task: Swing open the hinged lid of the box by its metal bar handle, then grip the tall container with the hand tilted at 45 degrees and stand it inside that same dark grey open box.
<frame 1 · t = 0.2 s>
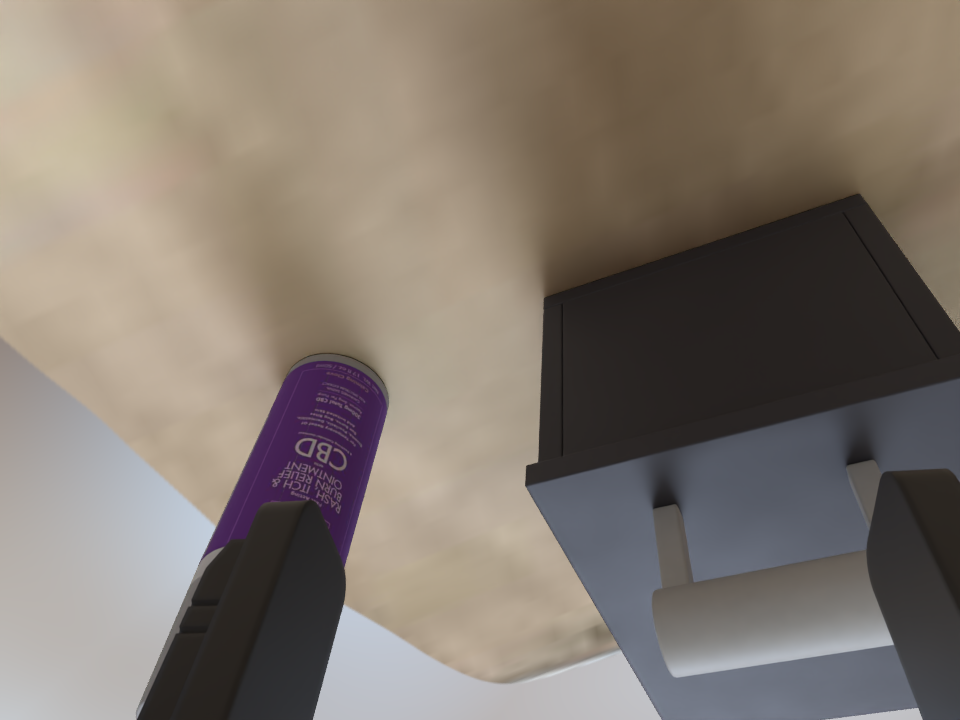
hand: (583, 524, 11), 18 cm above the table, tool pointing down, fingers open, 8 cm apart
container: (337, 392, 34), on the table
dark grey open box: (735, 383, 31), on the table
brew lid: (813, 657, 21), point 13 cm above the table, hinge at 0.0°
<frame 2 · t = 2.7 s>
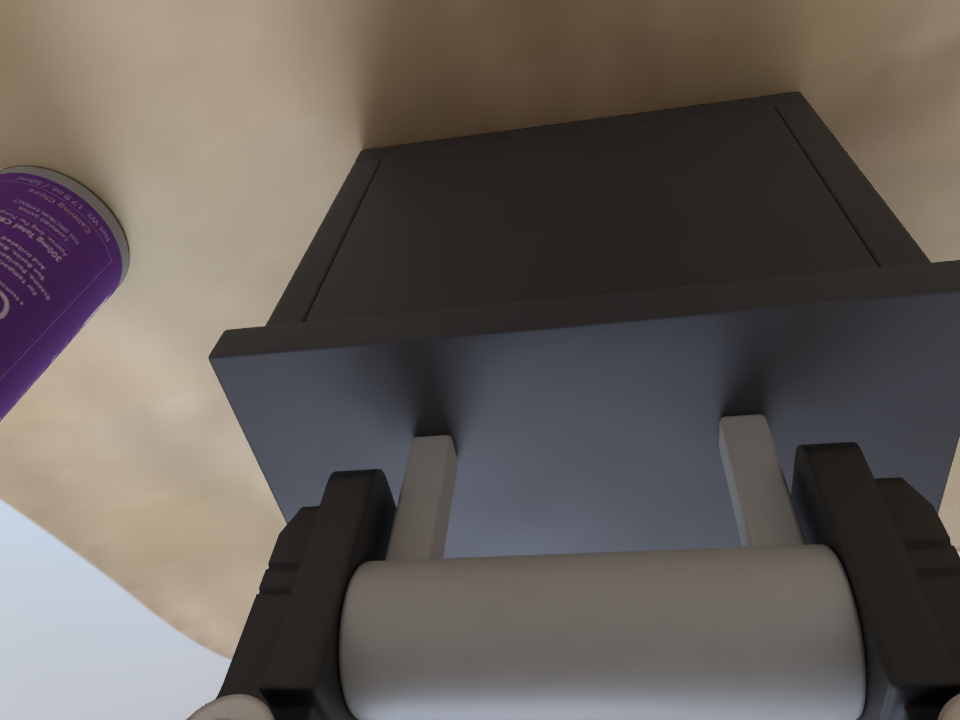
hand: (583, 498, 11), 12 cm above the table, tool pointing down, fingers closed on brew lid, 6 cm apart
container: (58, 233, 24), on the table
dark grey open box: (590, 330, 24), on the table
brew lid: (608, 706, 14), point 13 cm above the table, hinge at 0.0°, touching gripper
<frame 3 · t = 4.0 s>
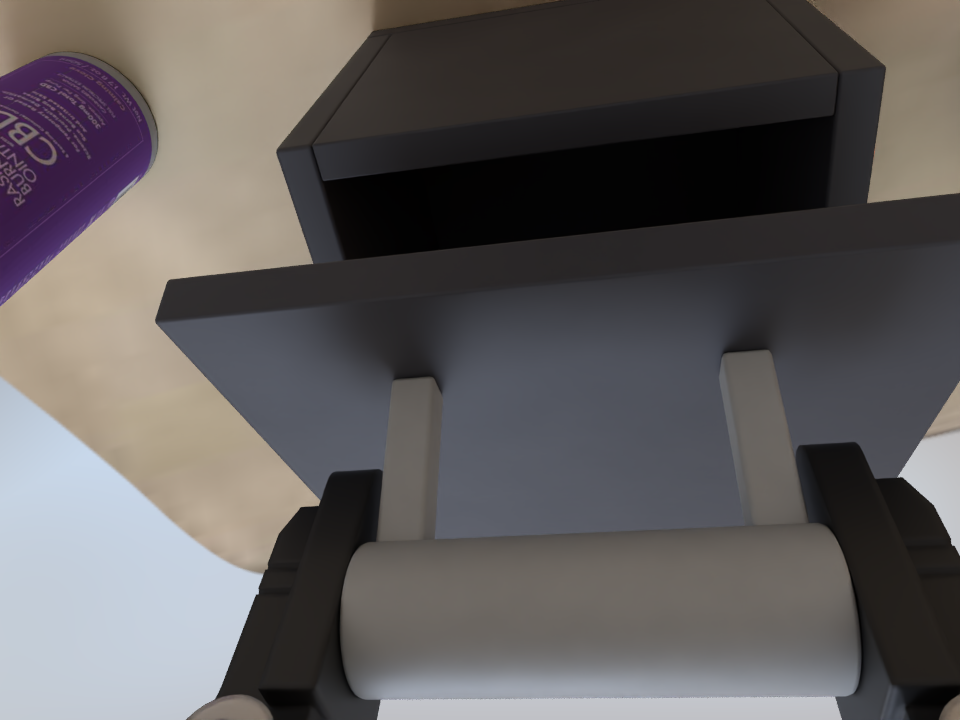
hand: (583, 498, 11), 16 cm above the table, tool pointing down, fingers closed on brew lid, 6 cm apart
container: (93, 120, 26), on the table
dark grey open box: (581, 212, 26), on the table
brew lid: (600, 590, 15), point 15 cm above the table, hinge at 20.7°, touching gripper
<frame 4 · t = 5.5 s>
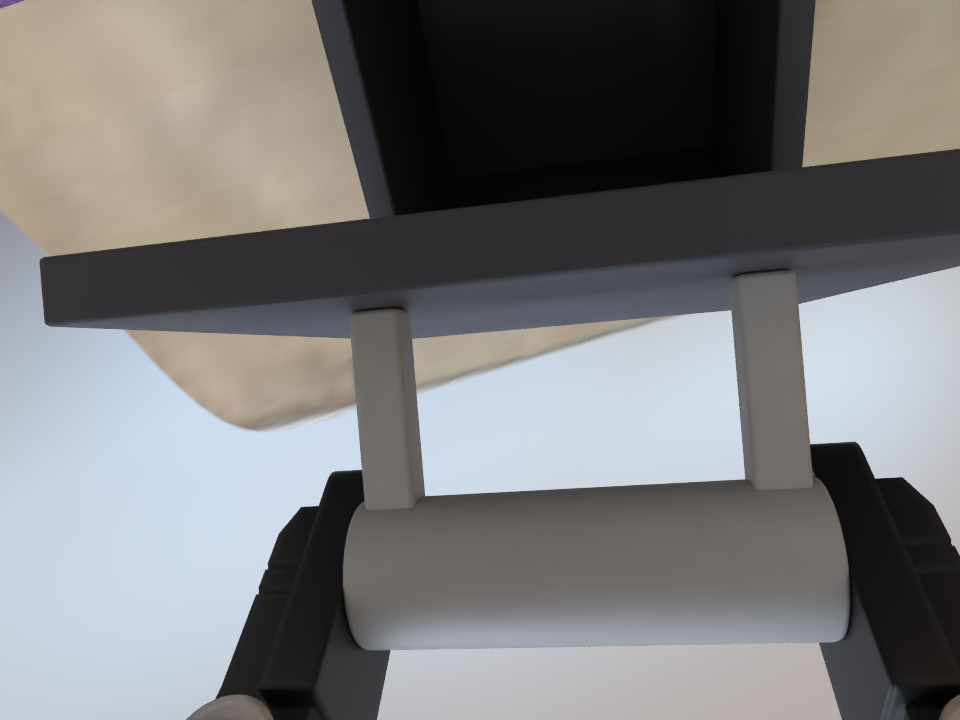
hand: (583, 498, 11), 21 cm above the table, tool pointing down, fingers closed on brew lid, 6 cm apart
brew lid: (585, 407, 15), point 17 cm above the table, hinge at 55.3°, touching gripper
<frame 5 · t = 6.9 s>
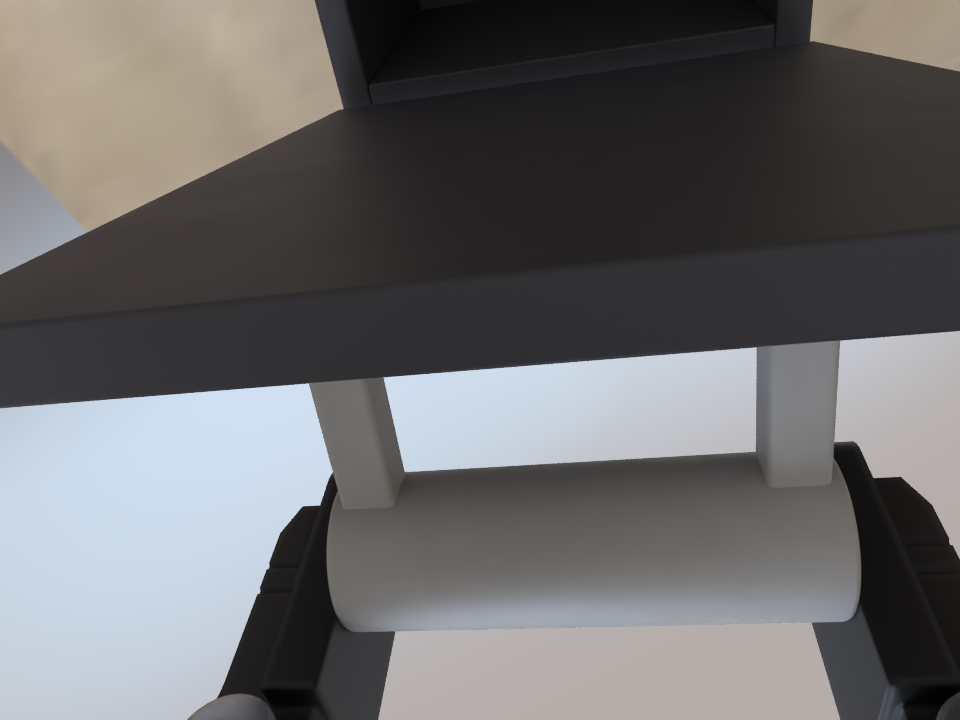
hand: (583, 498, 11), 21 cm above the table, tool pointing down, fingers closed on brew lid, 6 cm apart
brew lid: (571, 281, 13), point 18 cm above the table, hinge at 79.7°, touching gripper
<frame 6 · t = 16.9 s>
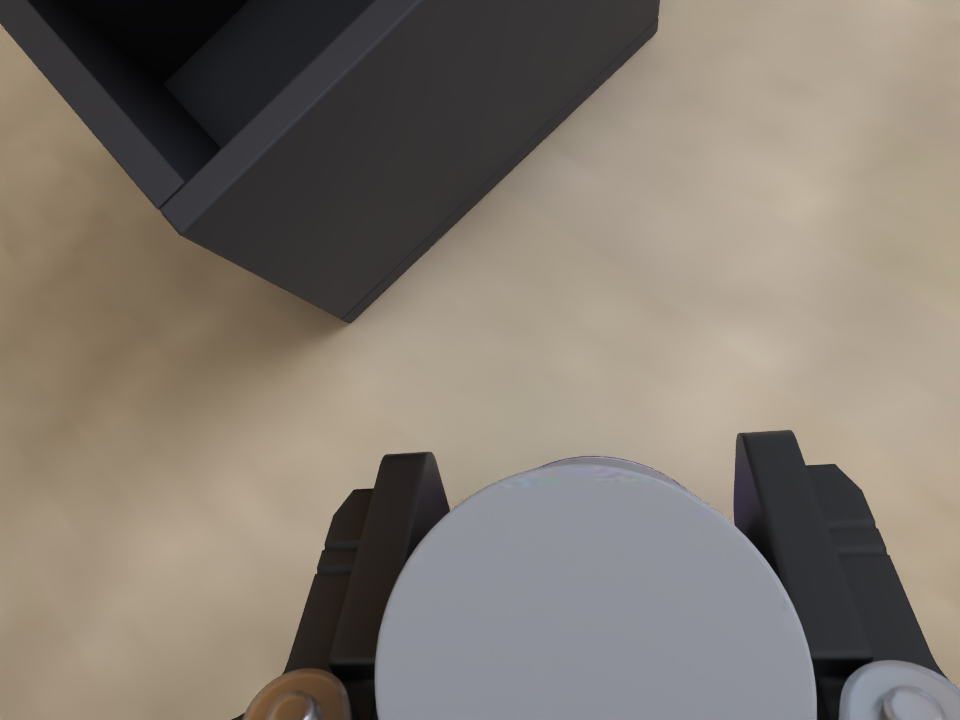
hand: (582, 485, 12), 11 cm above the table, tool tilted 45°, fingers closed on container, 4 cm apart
container: (604, 539, 22), on the table, touching gripper
dark grey open box: (387, 65, 26), on the table
when the fingers open (12 cm above the table, at t = 25.3 s): container stays where it is, resting on dark grey open box.
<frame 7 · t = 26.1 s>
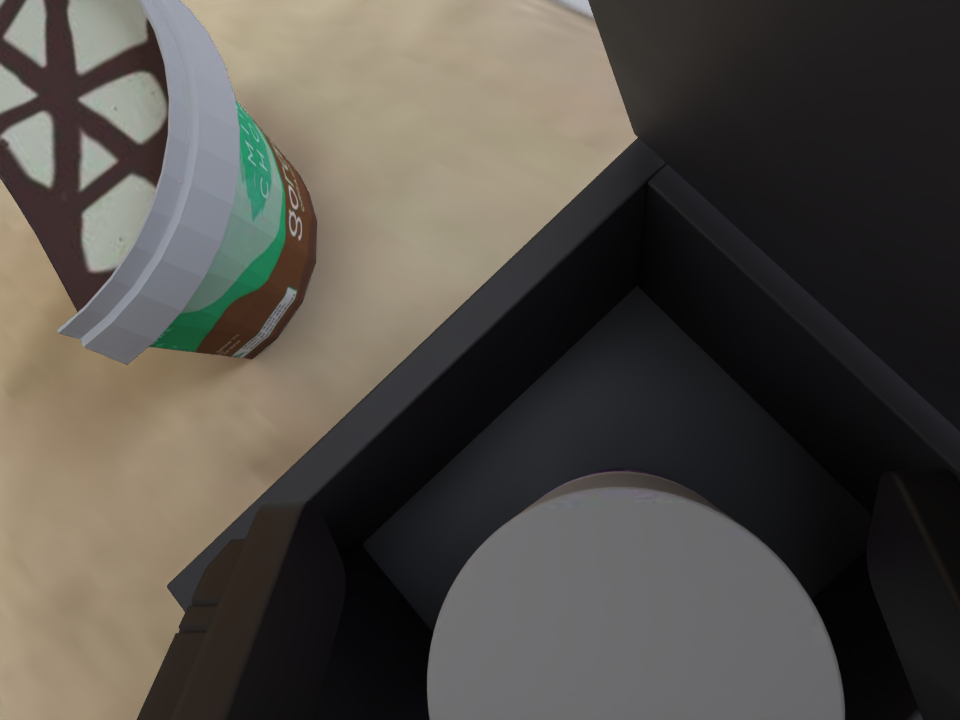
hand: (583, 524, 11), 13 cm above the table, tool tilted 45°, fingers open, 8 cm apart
container: (623, 545, 23), point 1 cm above the table, touching dark grey open box
dark grey open box: (609, 535, 24), on the table
food container: (260, 208, 28), on the table
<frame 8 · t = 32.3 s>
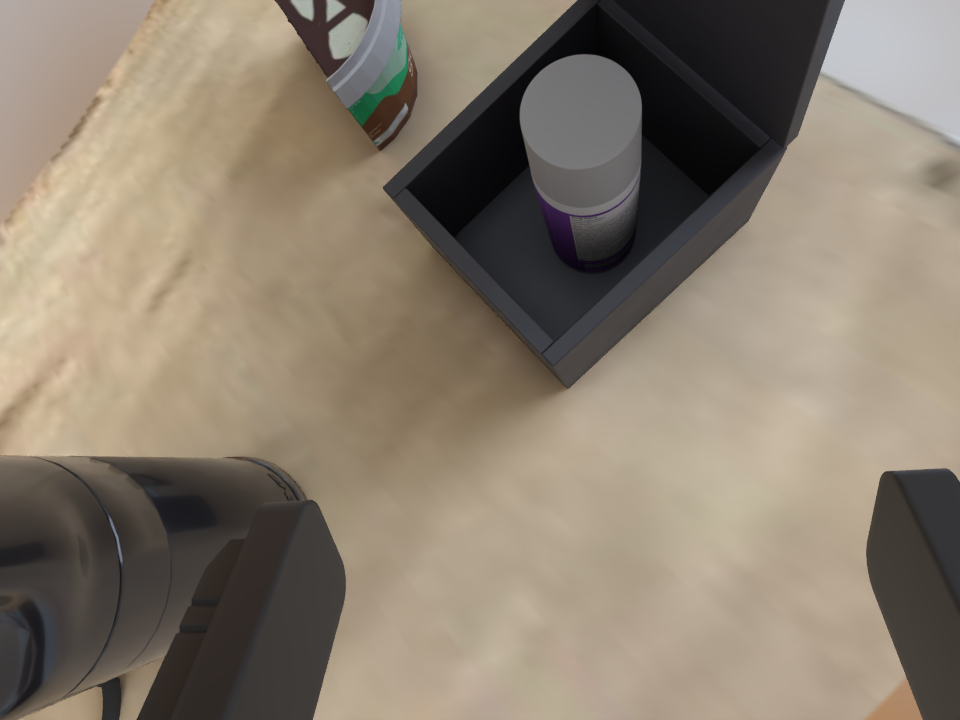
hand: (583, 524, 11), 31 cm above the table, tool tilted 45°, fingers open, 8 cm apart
container: (592, 234, 42), point 1 cm above the table, touching dark grey open box
dark grey open box: (585, 233, 43), on the table
food container: (382, 66, 47), on the table
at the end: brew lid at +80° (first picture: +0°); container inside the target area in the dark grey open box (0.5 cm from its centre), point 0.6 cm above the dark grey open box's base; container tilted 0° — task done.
